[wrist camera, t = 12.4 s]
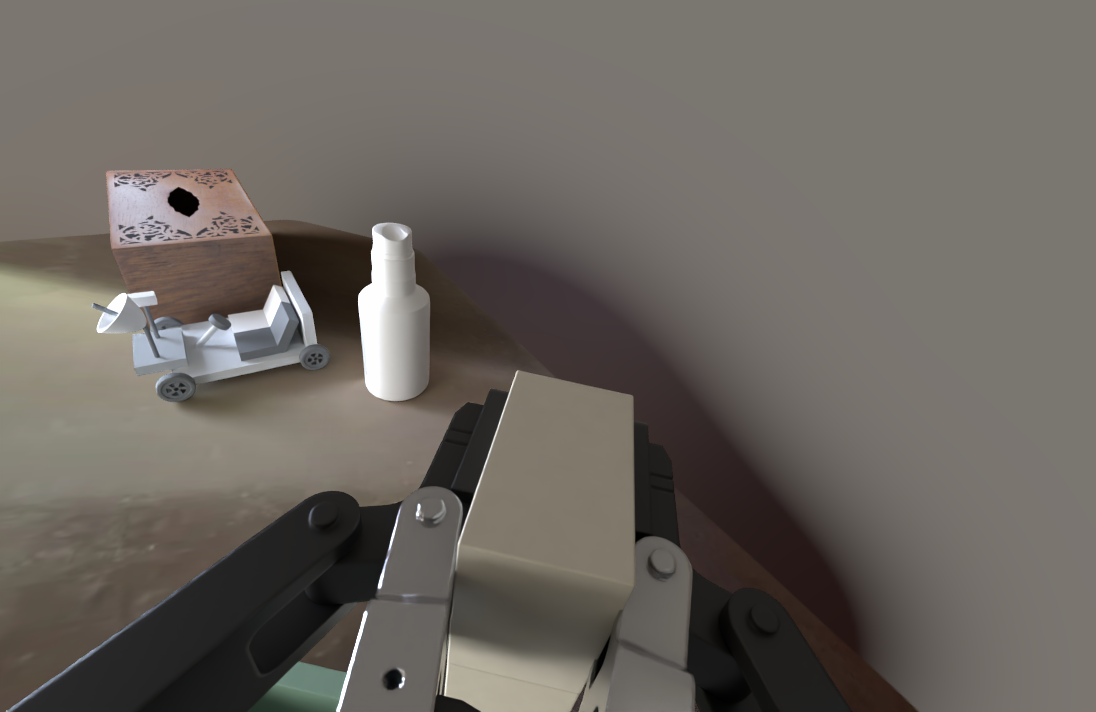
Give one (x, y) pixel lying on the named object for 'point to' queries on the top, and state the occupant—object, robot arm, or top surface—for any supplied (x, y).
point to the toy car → (217, 340)
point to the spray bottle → (394, 318)
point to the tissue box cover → (190, 242)
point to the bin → (304, 691)
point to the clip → (544, 548)
